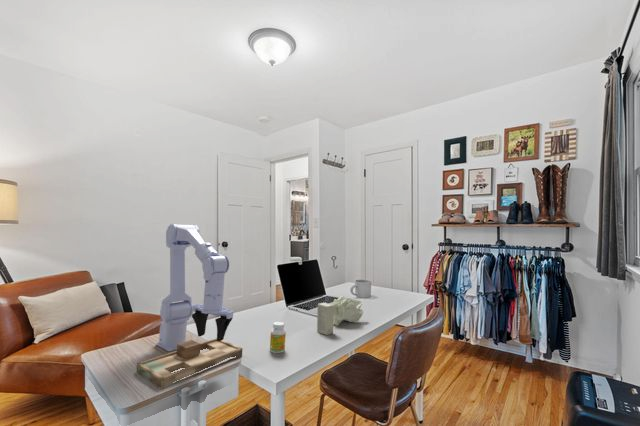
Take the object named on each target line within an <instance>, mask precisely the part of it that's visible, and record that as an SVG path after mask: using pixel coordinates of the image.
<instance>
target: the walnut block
mask: <svg viewBox="0 0 640 426" xmlns="http://www.w3.org/2000/svg"><path fill="white" fill-rule="evenodd" d="M176 351H177V354H176V355H177V356H179V357H181V358H183V359H188V358H191V357H194V356H197V355H199V354H200V342H198V341H195V340H193V339H190V340H186V342H182V343H179V344H177V350H176Z"/></svg>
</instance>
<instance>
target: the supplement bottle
mask: <svg viewBox="0 0 640 426" xmlns="http://www.w3.org/2000/svg"><path fill="white" fill-rule="evenodd" d="M272 327H273V328H271V330H270V340H269V341H270V342H269V351H270V352H271V353H273V354H280V353H281V354H282V353H284V352H285V349H286V348H285V347H286V333H287V331H286V329H285V323H284V322H283V321H275V322H273V323H272Z"/></svg>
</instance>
